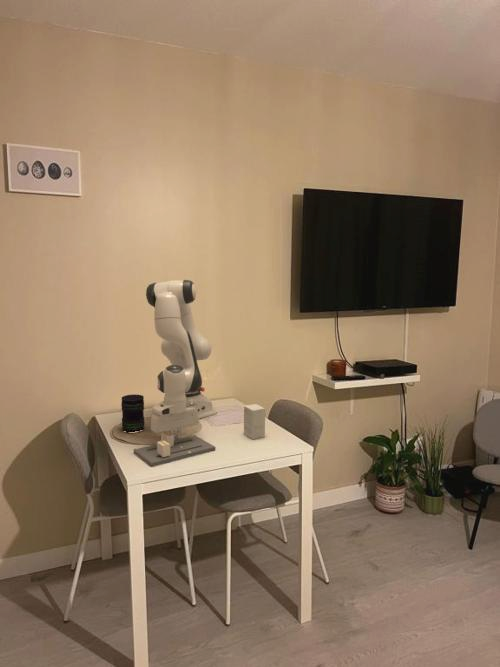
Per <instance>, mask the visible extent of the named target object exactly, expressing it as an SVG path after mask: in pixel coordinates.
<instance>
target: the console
mask: <svg viewBox="0 0 500 667" xmlns="http://www.w3.org/2000/svg"><path fill="white" fill-rule="evenodd" d="M215 451H216V446H215V445H213V444H212V443H210V442H208V441H206V440H205V439H202V438H201V437H199V436H197V435H191V436H186V437H183V438H182V437H181V438H179V439H175V440H174V446H171V447H170V456H166V457H162V456H161V455H159V454H158V453H157V443H156V444H152V445H147V446H144V447H143V446H142V447H140V448H139V447H138V448H134V449H133V454H134V455H135V456H137V457H138V458H140V459H141V460H142V461H143V462H145V463H146V464H147V465H148V466H150V467H152V468H153V467H157V466H160V465H164V464H168V463H172V462H176V461H179V460H185V459H188V458H191V457H195V456H199V455H203V454H206V453H210V452H215Z"/></svg>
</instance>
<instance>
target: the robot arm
mask: <svg viewBox="0 0 500 667" xmlns="http://www.w3.org/2000/svg"><path fill="white" fill-rule="evenodd" d="M145 291H146V292H145V296H146V301H147V303H148V304H149V305H150V306H152V307H153V308H154V314H153V316H154V317H153V318H154V328H155V332H156V334H157V336H158V337H160V338H161V339H162V341H161V344H160V349H161V354H163V356H164V357H166V358H167V359H168V361H169V362H170V364H171V365H168V366H166V367H165V369H164V370H162V371H161V372H159V373H158V375H157V390H159V391H160V392H161V393H163V394H164V397H163V401H161V402H159V403H158V404H156V405H153V406H152V412H153V413H152V415H151V416H150V417H151V419H150V420H151V421H150V430H151V431H152V432H153V433H154V434H158V433H159V434H161V433H164V432H169V433H171V434H173V435H174V440H177V439H180V435H181V432H183V429H184V428H187V427H191V426H197V425H198V423H199V420H200V419H203V418H207V417H210V416H213V415H216V414H218V411H217V409H216V408H214V407H213V404H212V403H213V402H212V400H211V399H209V397H207V396H205V395H204V394H203V393H202V392H205V390H206V389H205V387H203V378H202V375H201V371H200V367H199V365H198V361H204V360H207V359H208V358H209V357H210V355H211V354H212V345H211V343H210V341H209V339H207V338H205V337H204V336H203V335H202V334H201V333H200V332H199V330H198V329H197V327H196V325H195V323H194V318H193V313H192V308H191V304H192V303H193V302H194V301H195V300H196V296H197V289H196V286H195V283H194V281H192V280H189V279H183V280H181V279H180V280H179V279H177V280H176V279H174V280H167V281H162V282H152V283H150V284H148V286H147V287H146V290H145ZM175 430H176V433H175Z"/></svg>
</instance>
